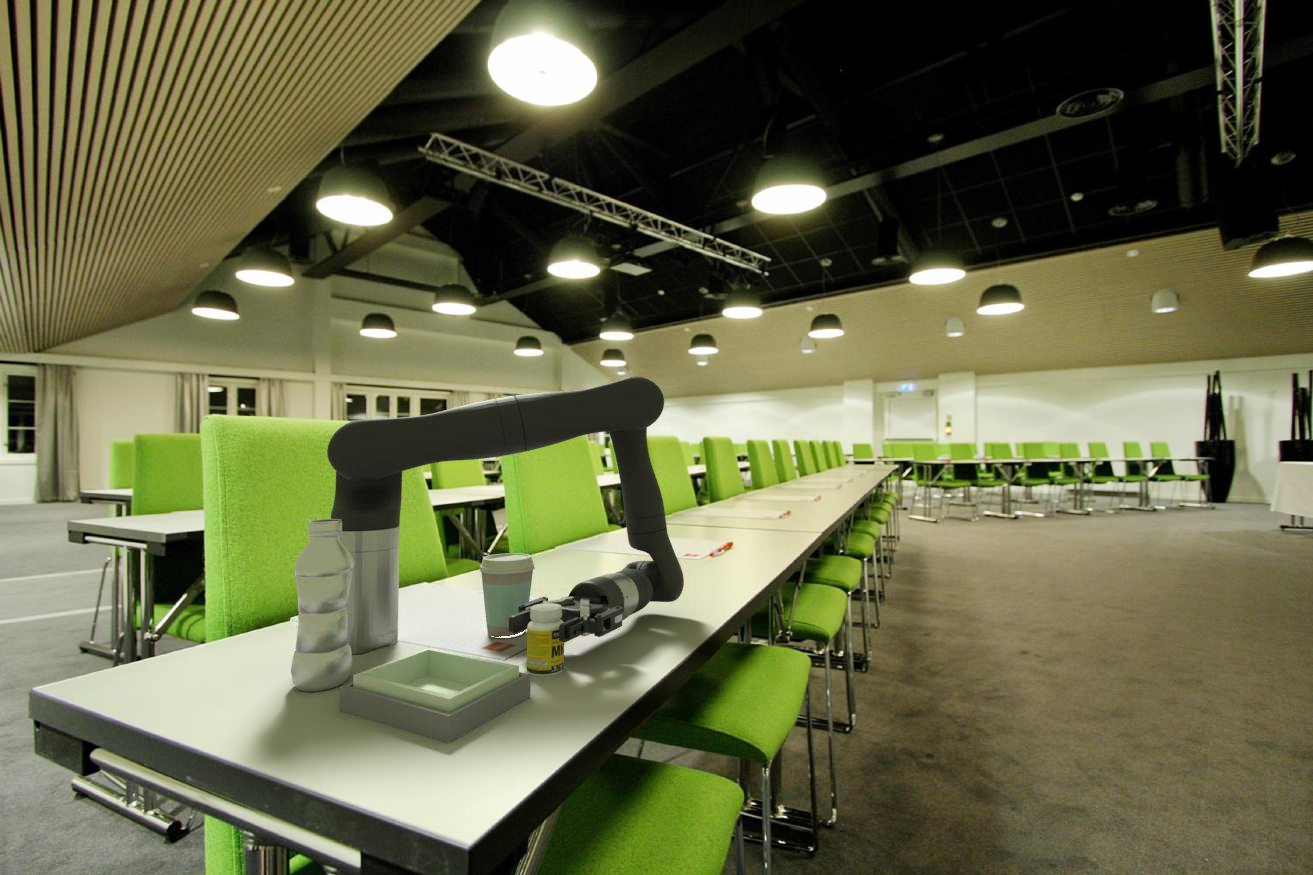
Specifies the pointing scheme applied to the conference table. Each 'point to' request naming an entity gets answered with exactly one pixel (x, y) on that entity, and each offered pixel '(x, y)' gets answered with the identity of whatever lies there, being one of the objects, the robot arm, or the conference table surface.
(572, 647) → the conference table surface
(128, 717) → the conference table surface
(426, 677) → the sage crate
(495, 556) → the coffee cup
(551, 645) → the supplement bottle
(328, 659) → the plastic bottle
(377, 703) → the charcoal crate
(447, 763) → the conference table surface
